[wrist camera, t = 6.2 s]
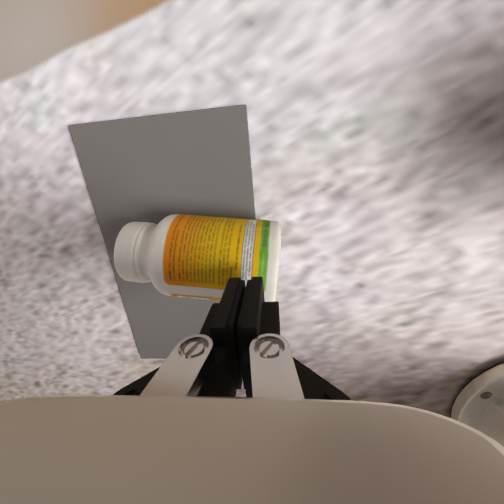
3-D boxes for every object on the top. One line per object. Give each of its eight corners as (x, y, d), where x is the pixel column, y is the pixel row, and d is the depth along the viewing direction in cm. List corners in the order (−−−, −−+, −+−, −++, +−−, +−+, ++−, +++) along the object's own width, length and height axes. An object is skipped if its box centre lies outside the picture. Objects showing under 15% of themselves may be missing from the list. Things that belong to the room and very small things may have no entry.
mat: (266, 354, 22) (266, 358, 22) (143, 354, 24) (141, 358, 23) (246, 106, 15) (245, 104, 15) (74, 126, 17) (68, 125, 16)
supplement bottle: (283, 203, 15) (134, 193, 16) (281, 271, 12) (89, 254, 12) (275, 258, 19) (158, 248, 20) (272, 321, 16) (129, 307, 16)
